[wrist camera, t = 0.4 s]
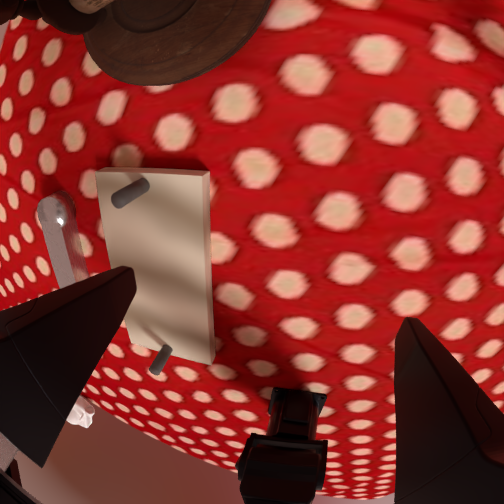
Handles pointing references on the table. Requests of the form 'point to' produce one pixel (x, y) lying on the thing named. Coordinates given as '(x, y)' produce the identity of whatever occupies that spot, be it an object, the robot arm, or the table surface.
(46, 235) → the grey baby rattle
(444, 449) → the robot arm
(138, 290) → the peg rack
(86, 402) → the plane toy
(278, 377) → the table surface
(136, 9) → the dark brown upright piece
